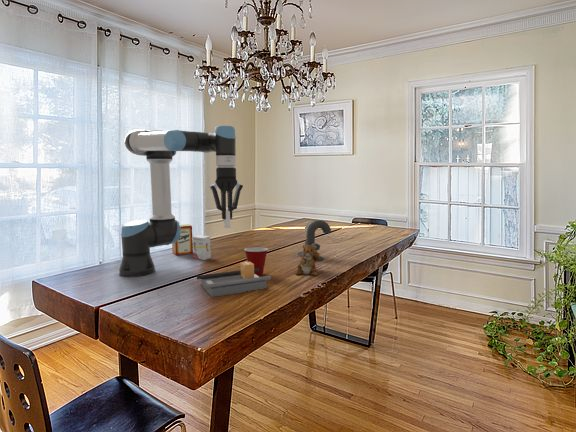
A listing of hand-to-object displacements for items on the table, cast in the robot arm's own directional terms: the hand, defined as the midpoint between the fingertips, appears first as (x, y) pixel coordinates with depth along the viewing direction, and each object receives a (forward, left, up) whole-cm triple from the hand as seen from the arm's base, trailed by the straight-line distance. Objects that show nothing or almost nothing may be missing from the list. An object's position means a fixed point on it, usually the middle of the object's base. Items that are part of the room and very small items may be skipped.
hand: (227, 227), depth 149 cm
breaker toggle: (+8, 0, -21) cm, 22 cm away
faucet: (+58, +29, -25) cm, 69 cm away
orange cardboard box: (-5, +70, -25) cm, 74 cm away
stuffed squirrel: (+40, +6, -25) cm, 47 cm away
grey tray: (+2, 0, -21) cm, 22 cm away
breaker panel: (+2, 0, -24) cm, 24 cm away
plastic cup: (+17, +13, -25) cm, 33 cm away
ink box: (+2, +54, -25) cm, 59 cm away
